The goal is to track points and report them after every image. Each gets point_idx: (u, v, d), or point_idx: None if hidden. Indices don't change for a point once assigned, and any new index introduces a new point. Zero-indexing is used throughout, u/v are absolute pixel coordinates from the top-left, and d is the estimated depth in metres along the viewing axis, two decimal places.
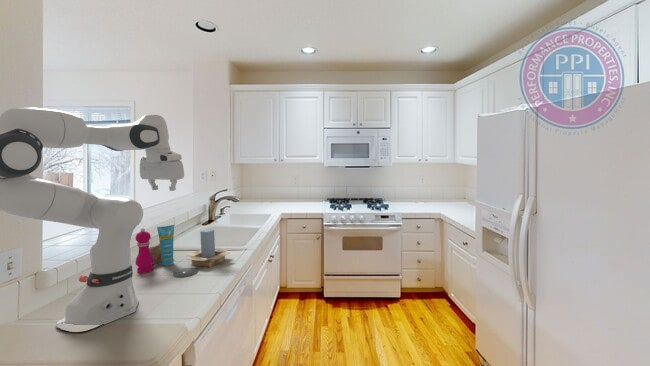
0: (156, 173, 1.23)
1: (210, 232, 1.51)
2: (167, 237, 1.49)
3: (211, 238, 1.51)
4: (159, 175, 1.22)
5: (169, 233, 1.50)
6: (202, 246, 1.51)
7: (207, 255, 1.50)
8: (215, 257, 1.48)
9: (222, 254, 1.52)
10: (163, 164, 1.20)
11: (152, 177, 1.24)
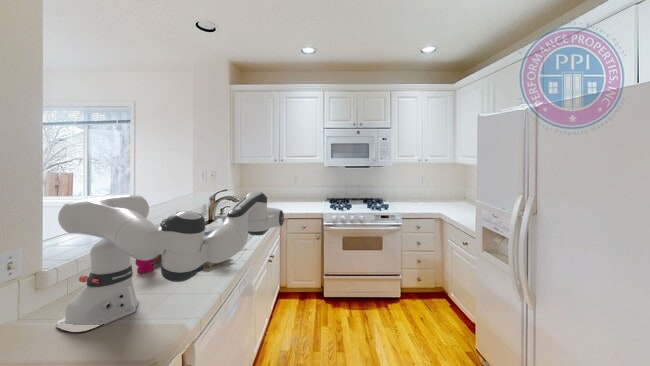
0: None
1: (210, 232, 1.51)
2: None
3: None
4: None
5: None
6: None
7: None
8: None
9: None
10: None
11: None
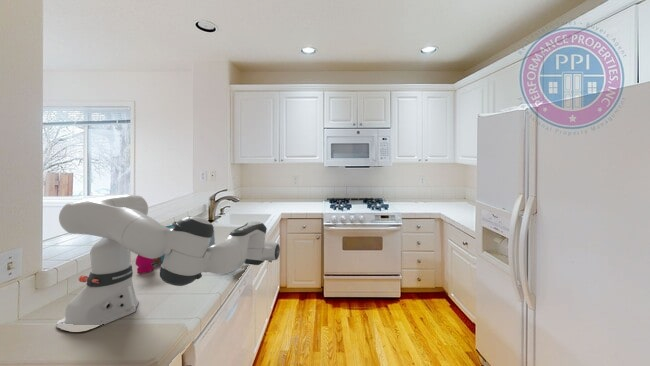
0: None
1: None
2: None
3: (211, 238, 1.51)
4: None
5: None
6: None
7: None
8: None
9: None
10: None
11: None
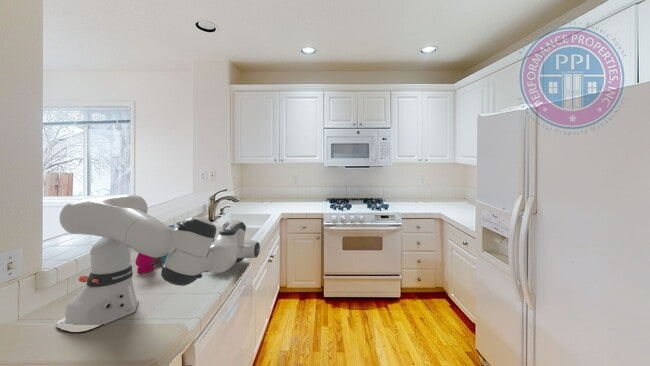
0: None
1: None
2: None
3: None
4: None
5: None
6: None
7: None
8: None
9: None
10: None
11: None
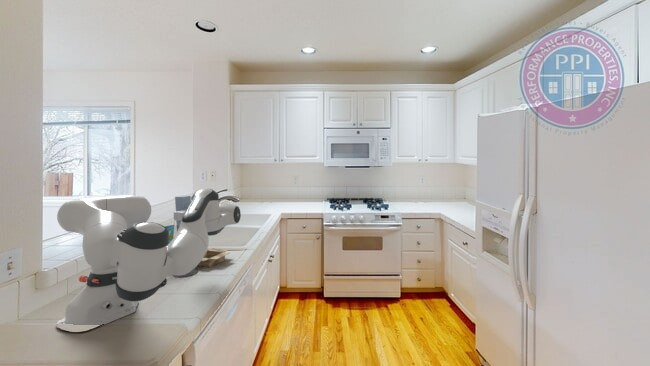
0: None
1: (186, 198, 1.37)
2: None
3: (187, 205, 1.37)
4: None
5: (169, 233, 1.50)
6: None
7: None
8: (215, 257, 1.48)
9: (222, 254, 1.52)
10: None
11: None
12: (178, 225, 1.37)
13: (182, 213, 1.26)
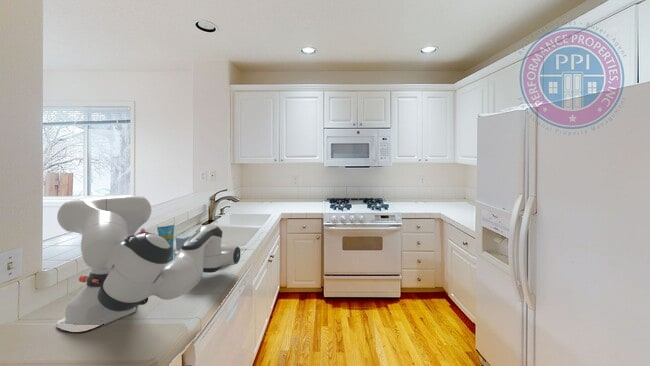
0: None
1: (186, 239, 1.37)
2: (167, 237, 1.49)
3: None
4: None
5: (169, 233, 1.50)
6: None
7: None
8: None
9: None
10: None
11: None
12: None
13: None
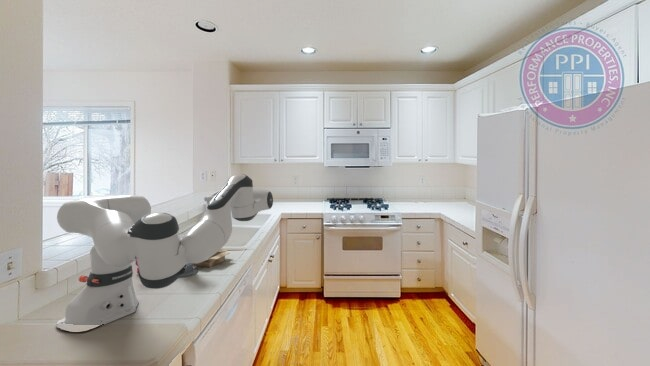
0: None
1: None
2: None
3: None
4: None
5: None
6: None
7: None
8: (215, 257, 1.48)
9: (222, 254, 1.52)
10: None
11: None
12: None
13: None
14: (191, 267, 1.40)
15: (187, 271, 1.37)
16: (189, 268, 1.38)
